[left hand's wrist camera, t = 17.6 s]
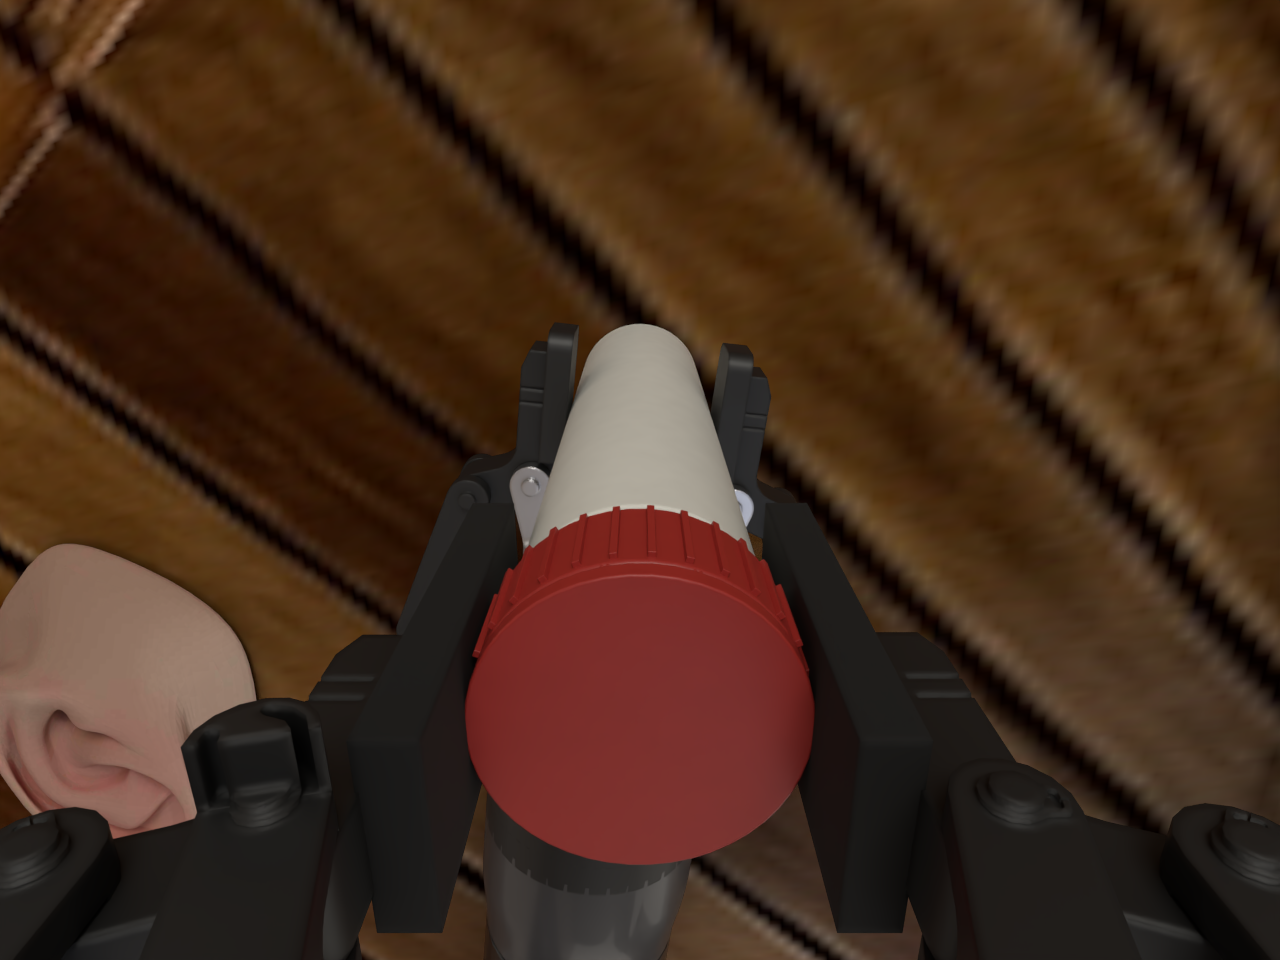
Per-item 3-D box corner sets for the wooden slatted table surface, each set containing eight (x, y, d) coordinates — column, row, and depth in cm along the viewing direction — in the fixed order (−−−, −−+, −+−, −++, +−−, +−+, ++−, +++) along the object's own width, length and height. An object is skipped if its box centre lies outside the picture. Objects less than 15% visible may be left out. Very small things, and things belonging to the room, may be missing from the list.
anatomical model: (-97, 566, 27) (236, 644, 28) (-8, 521, 31) (283, 590, 32) (-81, 848, 32) (206, 905, 33) (-5, 779, 35) (250, 832, 36)
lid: (430, 580, 12) (386, 661, 10) (716, 448, 11) (733, 506, 9) (576, 801, 13) (564, 912, 11) (837, 699, 13) (875, 798, 11)
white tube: (712, 412, 29) (828, 768, 11) (607, 450, 30) (558, 848, 12) (674, 306, 28) (735, 518, 10) (565, 348, 29) (436, 620, 10)
